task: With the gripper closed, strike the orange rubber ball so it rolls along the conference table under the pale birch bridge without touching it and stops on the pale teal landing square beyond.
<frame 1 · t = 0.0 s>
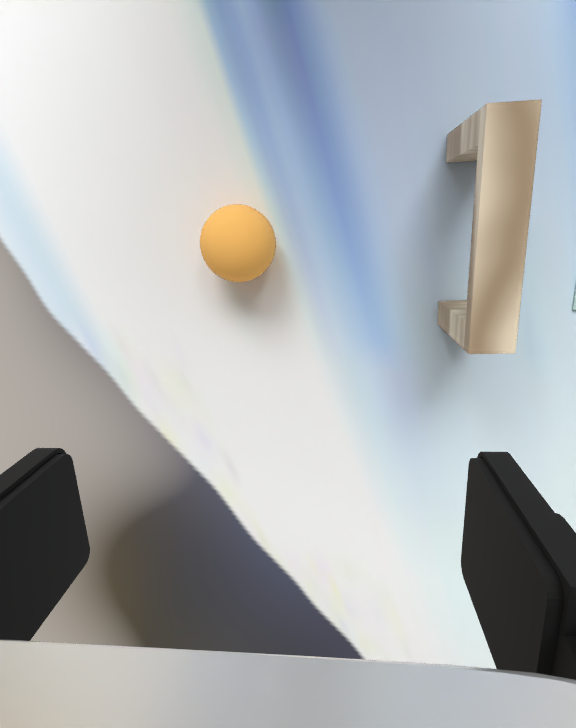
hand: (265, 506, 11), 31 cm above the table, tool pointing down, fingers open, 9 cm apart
ball: (238, 244, 37), on the table
bridge: (460, 233, 38), on the table
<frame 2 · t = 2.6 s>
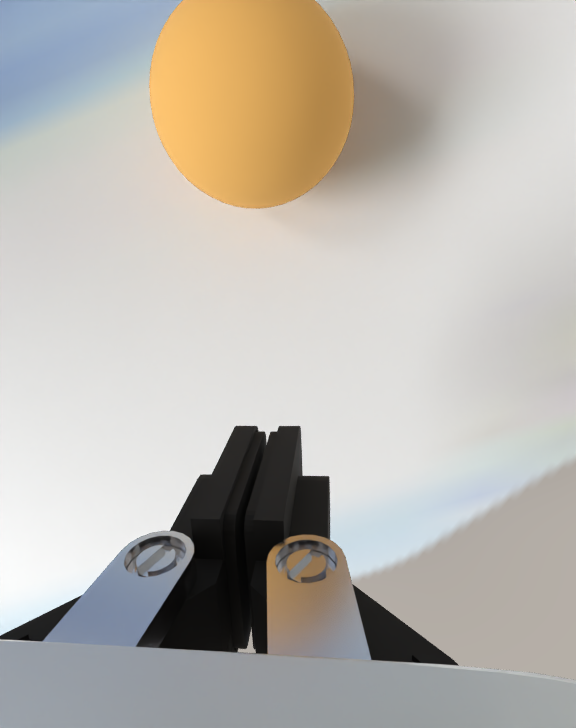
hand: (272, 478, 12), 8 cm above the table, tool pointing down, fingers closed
ball: (253, 103, 14), on the table
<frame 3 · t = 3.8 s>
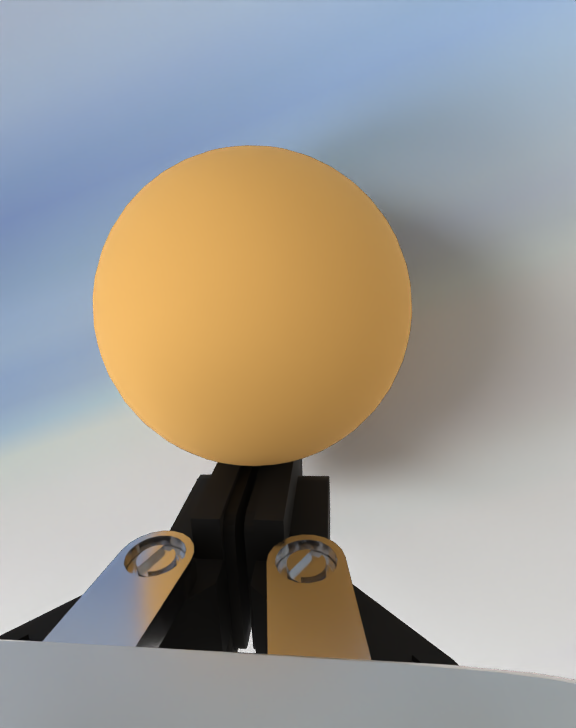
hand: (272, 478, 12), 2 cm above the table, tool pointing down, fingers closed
ball: (256, 312, 9), on the table
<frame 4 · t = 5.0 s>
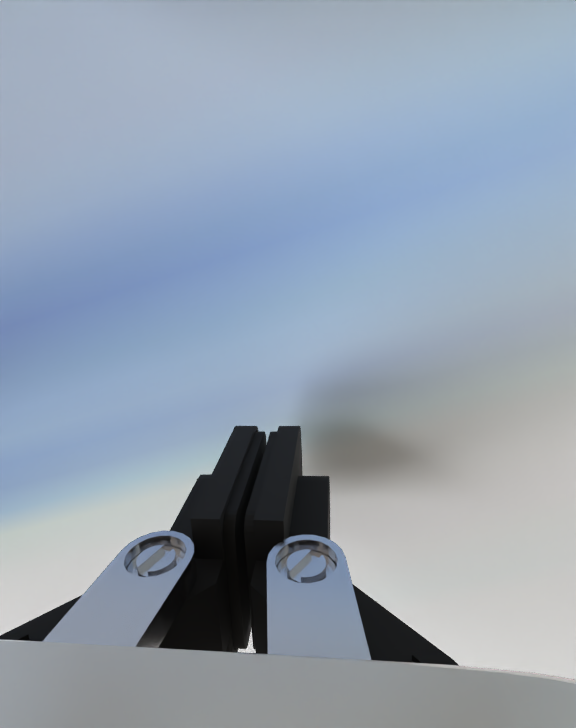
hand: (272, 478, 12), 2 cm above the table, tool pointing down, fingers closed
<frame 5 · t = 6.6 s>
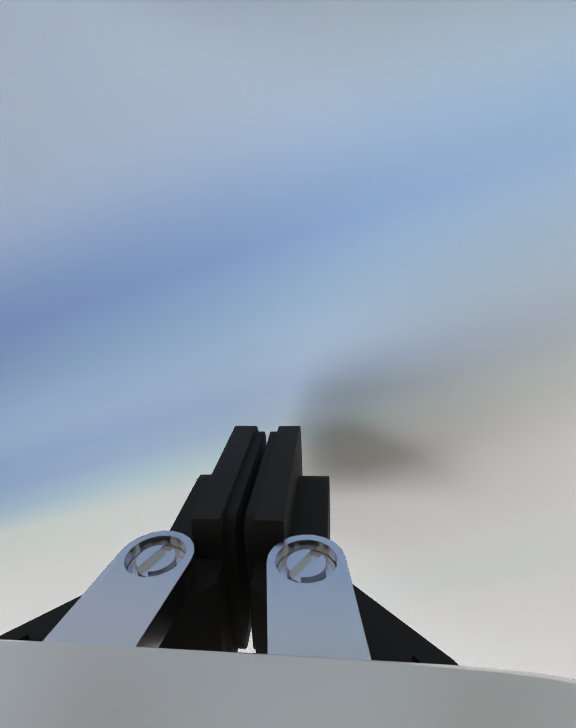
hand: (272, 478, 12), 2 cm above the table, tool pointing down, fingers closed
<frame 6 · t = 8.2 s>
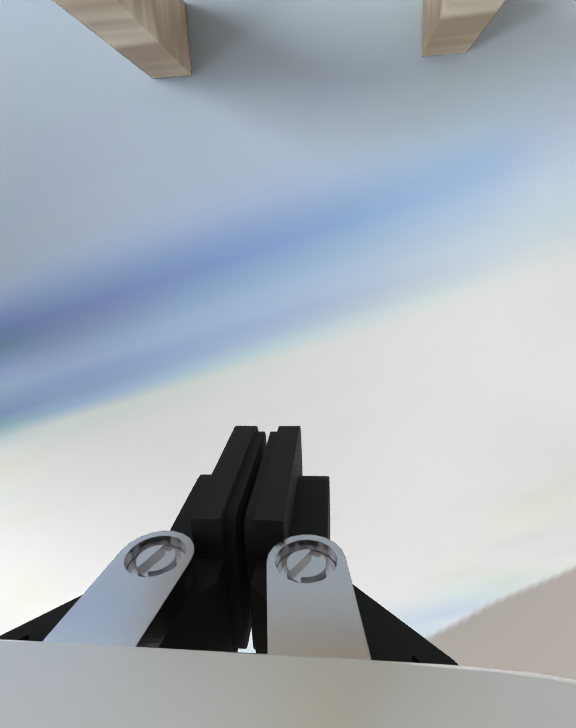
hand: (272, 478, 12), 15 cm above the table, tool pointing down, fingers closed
bridge: (302, 29, 21), on the table
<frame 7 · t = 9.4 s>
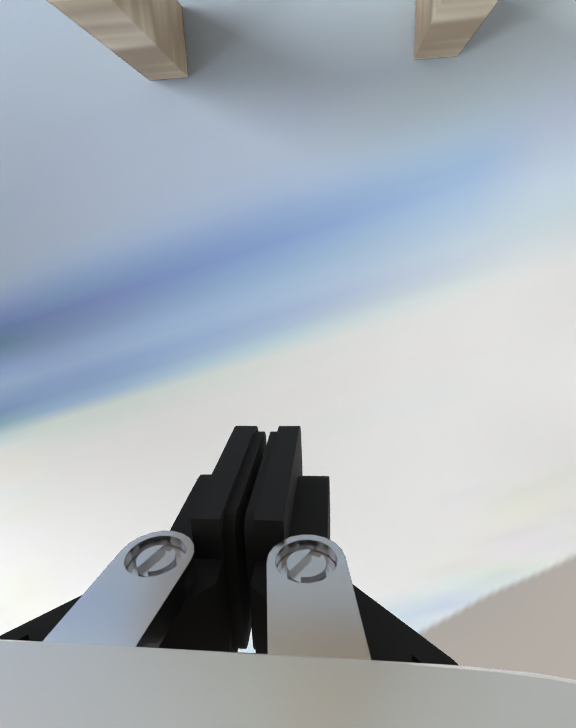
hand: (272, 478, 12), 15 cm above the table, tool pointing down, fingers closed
bridge: (296, 32, 22), on the table
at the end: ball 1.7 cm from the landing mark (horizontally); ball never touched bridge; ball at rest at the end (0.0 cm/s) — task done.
